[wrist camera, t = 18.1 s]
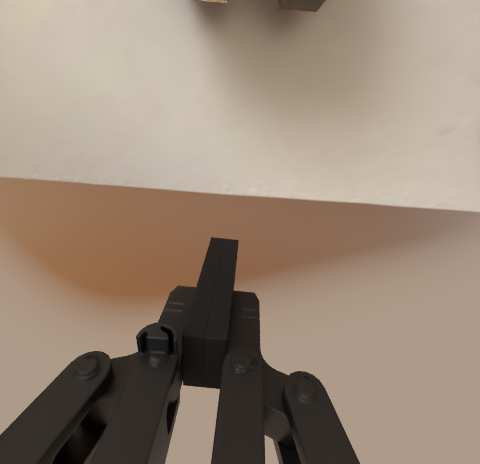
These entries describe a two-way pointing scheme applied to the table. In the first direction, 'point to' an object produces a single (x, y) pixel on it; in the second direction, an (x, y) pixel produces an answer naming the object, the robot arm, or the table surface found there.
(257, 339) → the robot arm
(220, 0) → the ivory key
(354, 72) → the table surface
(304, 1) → the black key
